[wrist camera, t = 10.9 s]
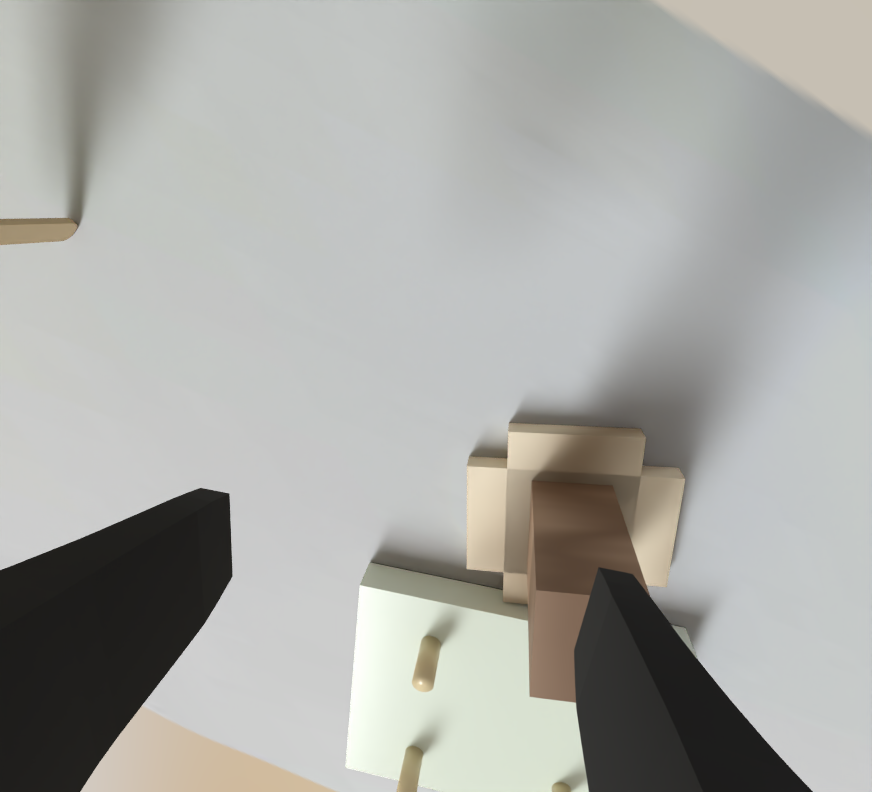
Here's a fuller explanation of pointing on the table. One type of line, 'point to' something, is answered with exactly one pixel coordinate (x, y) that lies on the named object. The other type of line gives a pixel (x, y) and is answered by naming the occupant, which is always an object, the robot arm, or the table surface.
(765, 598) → the table surface
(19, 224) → the popsicle
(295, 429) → the table surface
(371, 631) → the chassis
